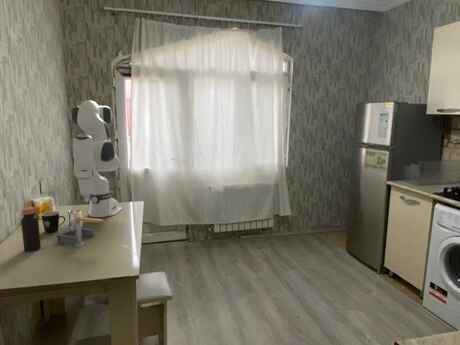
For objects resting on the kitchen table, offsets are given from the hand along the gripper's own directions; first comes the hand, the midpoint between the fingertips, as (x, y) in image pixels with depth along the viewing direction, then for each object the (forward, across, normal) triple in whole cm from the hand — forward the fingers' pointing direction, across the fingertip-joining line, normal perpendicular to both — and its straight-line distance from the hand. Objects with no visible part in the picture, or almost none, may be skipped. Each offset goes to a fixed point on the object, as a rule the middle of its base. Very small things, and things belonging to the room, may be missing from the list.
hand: (87, 201), depth 145 cm
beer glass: (+24, -17, -7) cm, 31 cm away
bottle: (+24, -12, -26) cm, 37 cm away
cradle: (+24, -16, -7) cm, 30 cm away
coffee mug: (+24, -34, -20) cm, 46 cm away
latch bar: (+14, -5, 0) cm, 15 cm away
